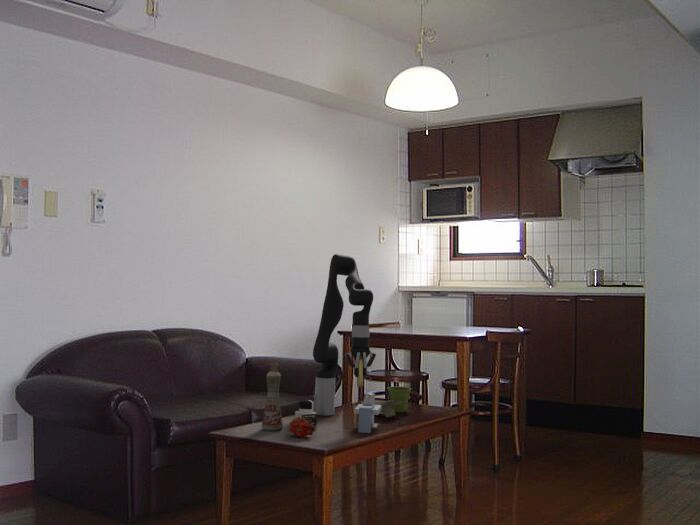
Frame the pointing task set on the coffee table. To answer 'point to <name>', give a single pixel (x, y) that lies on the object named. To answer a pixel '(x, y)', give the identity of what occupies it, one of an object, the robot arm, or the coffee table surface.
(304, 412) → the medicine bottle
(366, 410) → the bracket
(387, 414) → the white slotted block
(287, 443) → the coffee table surface
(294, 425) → the dragon fruit
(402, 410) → the plant pot
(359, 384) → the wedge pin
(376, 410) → the grey piece
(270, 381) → the bottle
